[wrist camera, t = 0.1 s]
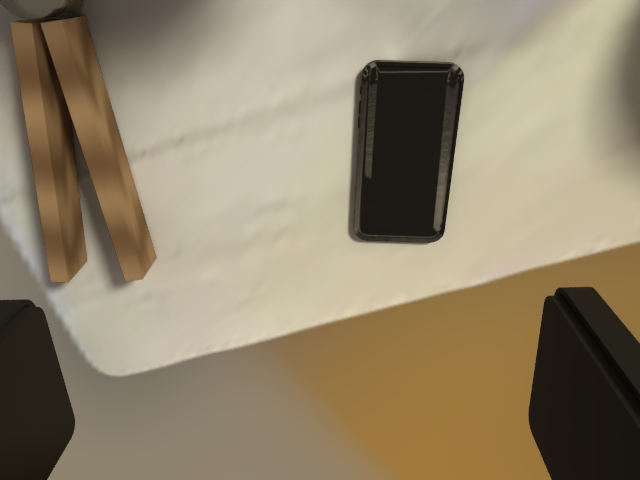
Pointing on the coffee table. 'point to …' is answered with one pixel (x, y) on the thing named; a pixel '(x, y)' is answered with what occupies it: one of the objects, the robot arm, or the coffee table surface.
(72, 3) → the tong hinge
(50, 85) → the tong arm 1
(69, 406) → the robot arm
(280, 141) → the coffee table surface
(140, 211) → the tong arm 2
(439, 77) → the phone
